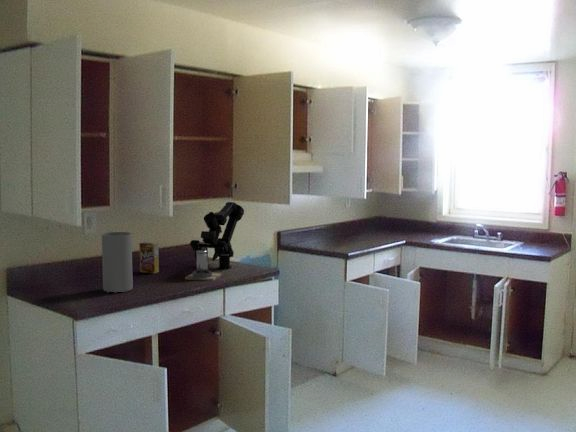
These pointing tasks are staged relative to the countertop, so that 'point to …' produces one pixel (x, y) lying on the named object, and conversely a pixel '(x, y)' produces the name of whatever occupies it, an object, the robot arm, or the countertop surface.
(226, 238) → the robot arm
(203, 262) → the metal canister
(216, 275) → the duct board
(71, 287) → the countertop surface
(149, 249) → the candy box
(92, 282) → the countertop surface
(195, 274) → the collar
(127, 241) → the cylinder vase
